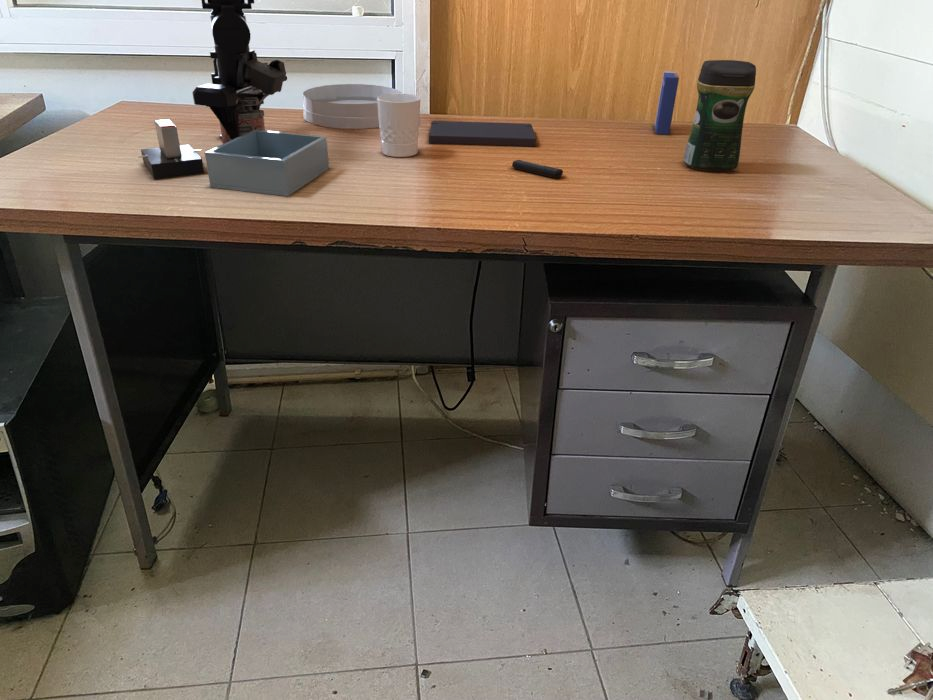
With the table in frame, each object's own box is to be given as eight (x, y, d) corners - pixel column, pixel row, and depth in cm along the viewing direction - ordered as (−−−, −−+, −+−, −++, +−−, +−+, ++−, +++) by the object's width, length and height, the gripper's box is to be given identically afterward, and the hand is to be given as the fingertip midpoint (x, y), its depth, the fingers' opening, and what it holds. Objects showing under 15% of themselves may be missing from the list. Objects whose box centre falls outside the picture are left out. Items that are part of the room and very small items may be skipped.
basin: (258, 161, 125) (254, 129, 122) (328, 168, 122) (326, 136, 120) (210, 187, 112) (204, 152, 109) (287, 196, 109) (284, 160, 107)
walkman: (669, 135, 151) (679, 76, 144) (656, 134, 151) (665, 75, 145) (667, 126, 157) (677, 69, 151) (654, 125, 158) (663, 69, 152)
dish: (363, 102, 170) (362, 80, 167) (424, 119, 157) (424, 95, 154) (284, 114, 156) (281, 91, 154) (342, 134, 143) (341, 109, 140)
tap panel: (136, 164, 121) (133, 148, 120) (197, 157, 126) (194, 142, 125) (147, 180, 114) (143, 164, 113) (211, 172, 119) (208, 157, 117)
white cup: (414, 159, 129) (413, 103, 124) (373, 156, 130) (371, 100, 125) (425, 148, 135) (425, 95, 130) (386, 145, 137) (384, 92, 131)
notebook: (428, 143, 139) (535, 146, 139) (428, 135, 138) (536, 138, 138) (431, 127, 150) (530, 131, 150) (431, 120, 149) (531, 123, 149)
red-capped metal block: (160, 150, 120) (153, 118, 118) (174, 148, 121) (168, 117, 119) (166, 159, 116) (160, 126, 113) (181, 157, 117) (176, 125, 114)
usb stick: (564, 176, 123) (565, 167, 122) (556, 180, 121) (557, 171, 120) (518, 166, 127) (518, 157, 126) (510, 169, 125) (511, 160, 125)
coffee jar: (729, 161, 134) (752, 57, 124) (740, 174, 127) (766, 65, 117) (678, 159, 134) (697, 55, 125) (687, 171, 127) (707, 62, 118)
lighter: (225, 158, 126) (216, 100, 121) (222, 153, 128) (213, 97, 123) (270, 154, 129) (264, 98, 124) (266, 149, 132) (259, 94, 126)
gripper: (246, 55, 110) (258, 155, 118) (299, 41, 125) (307, 129, 133) (183, 50, 112) (199, 148, 120) (243, 37, 127) (254, 124, 135)
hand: (243, 137), depth 127 cm, fingers closed on lighter, 5 cm apart
